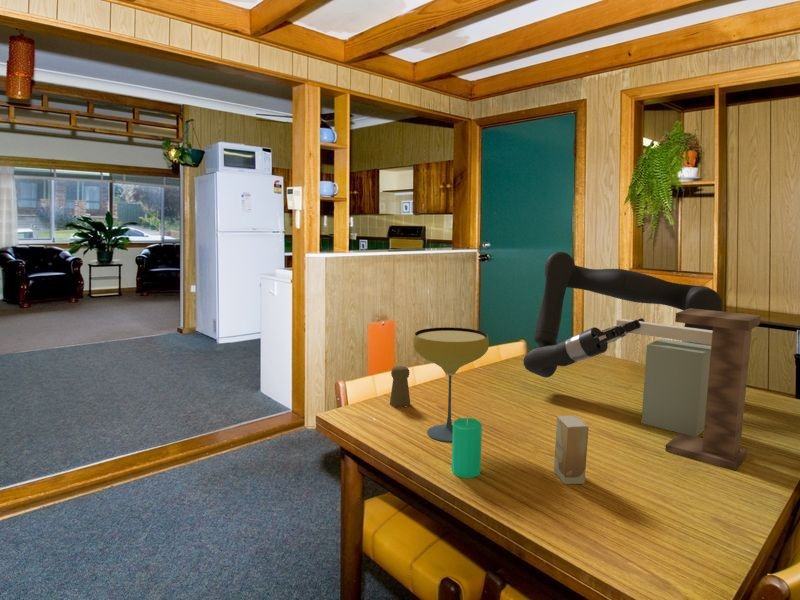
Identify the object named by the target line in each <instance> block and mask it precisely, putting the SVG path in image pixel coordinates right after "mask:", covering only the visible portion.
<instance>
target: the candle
mask: <svg viewBox="0 0 800 600" xmlns="http://www.w3.org/2000/svg"><path fill="white" fill-rule="evenodd" d="M452 425H453V432H452V442H451V448H452V449H451V472H452V474H453V475H455V476H457V477H459V478H466V479H469V478H472V479H473V478H476V477H478V476H480V474H481V470H482V466H481V465H482V435H483V433H482V432H483V430H482V429H483V424H482V423H481V422H480V420H478V419H475V418H473V417H472V418H471V417H469V416H468V415H467V416H466V418H465V417H463V418H461V417H460V418H457V419H454V420H453V422H452Z"/></svg>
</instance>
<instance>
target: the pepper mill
mask: <svg viewBox="0 0 800 600" xmlns="http://www.w3.org/2000/svg"><path fill="white" fill-rule="evenodd" d="M390 373H391V374H390V376H391V377H392V384H391V392H390V400H389V405H392V406H395V407H394V408H397V407H403V408H406V407H405V406H408V407H410V406H411V405H410V403H411V395H410V389H409V388H410V387H409V381H408V379H409V377H410V370H409V367H407V366H403V365H397V366H394V367H393V368H391V371H390ZM409 405H410V406H409ZM392 406H391V407H392Z"/></svg>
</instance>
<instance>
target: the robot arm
mask: <svg viewBox="0 0 800 600" xmlns="http://www.w3.org/2000/svg"><path fill="white" fill-rule="evenodd" d="M544 277H545V284H544V290H543V291H544V292H543V297H542V301H541V306H540V309H539V311H538V312H539V313H538V317H537V321H536V326H535V329H534V335H533V341H534V343H535V344H536V345H537V346H538V347H536V348H533V349H531V350H529V351H528V352H527V353H526V354H525V356H524V357H523V366H524V368H525V370H526V371H528V372H530V373H532V374H535V375H537V376H539V377H542V378H545V379H546V378H550V377H552V376H553V375H554V374H555V372H556V371H557V369H558V367H567V366H571V365H572V364H576V363H578V362H581V361H585V360H588V359H590V358H594V357H596V356H599V355H602V354H603V353H606V352H607V350H608V344H611V343H613V342H616V341H618V339H622V338H624V337H626V336H628V333H627V332H630V331H633V330H635V329H638V328H640V327H641V325H640V323H639V321H642V322H646V321H645V319H644V318H642V317H641V318H638V319H635V320H634V321H632V322H630V323H627V324H625V325H620V326H618V327H616V325H615V326H611V327H608V328H605V329H602V330H601V329H600V328H598V327H591V328H588V329H587V330H584V331H581V332H579V333H577V334H575V335H573V336H571V337H569V338H568V339H566V340H563V341H561V342H557V341H558V337H559V332H560V327H561V321H562V314H563V306H564V300H565V296H566V295H565V294H566V291H567V288H568V289H578V290H582V291H588V292H591V293H596V294H600V295H603V296H608V297H610V298H611V297H612V298H615V299H619V300H624V301H627V302H631V303H632V302H633V303H640V304H648V305H649V304H650V305H664V306H667V307H671V308H675V309H678V310H681V311H684V310H686V309H689V308H692V309H702V310H712V311H722V312H723V300H722V297H721V295H720V293H718V292H717V291H715V290H714V289H712V288H711V287H708V286H704V285H693V284H684V283H677V282H672V281H667V280H665V279H661V278H659V277H655V276H653V275H650V274H646V273H643V272H642V273H641V272H637V271H633V270H628V269H624V268H600V269H599V268H596V269H595V268H588V267H583V266H580V265H576V264H575V261H574V258H573V257H572V256H571V255H570V254H569V253H567V252H565V251H556V252H554V253H551V255H549V256H548V258H547V259H546V261H545V264H544ZM683 327H689V328H697V329H704V330H712V331H713V326H705V325H696V324H688V323H684V326H683ZM681 342H686V343H693V344H700V345H707V346H711V345H709V344H702V343H695V342H689V341H682V340H681Z"/></svg>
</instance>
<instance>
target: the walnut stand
mask: <svg viewBox="0 0 800 600" xmlns="http://www.w3.org/2000/svg"><path fill="white" fill-rule="evenodd" d="M674 321H675V323H681V324H685V323H688V324H696V325H705V326H713V332H712V344H711V355H710V367H709V378H708V390H707V401H706V413H705V424H704V430H703V436H702V437H699V436H697V437H695V436H691V435H687V434H683V433H677V435H675V436H674V437H673V438H672V439H671V440H669V441H668V442H666V444H665V452H667V453H670V454H674V455H675V454H676V455H678V456H682V457H686V458H688V459H689V458H690V459H693V460H698V461H700V462H703V463H708V464H711V465H714V466H715V465H716V466H718V467H722V468H726V469H730V470H733V471H736V470H737V469H738V468H739V467H740V466H741V464H742V463H743V461H744V460H745V459H746V458H747V457H748V449H745V448H742V447H741V444H742V435H743V425H744V415H745V403H746V393H747V381H748V371H749V362H750V361H749V360H750V353H751V352H750V351H751V341H752V330H753V329H755V328H756V327H758V326H759V325H760V324H761V315H760V314H750V313H741V312H740V313H739V312H731V311H730V312H729V311H723V310H722V311H712V310H702V309H692V308H689V309H686V310H681V311H678V312H675V319H674Z"/></svg>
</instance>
